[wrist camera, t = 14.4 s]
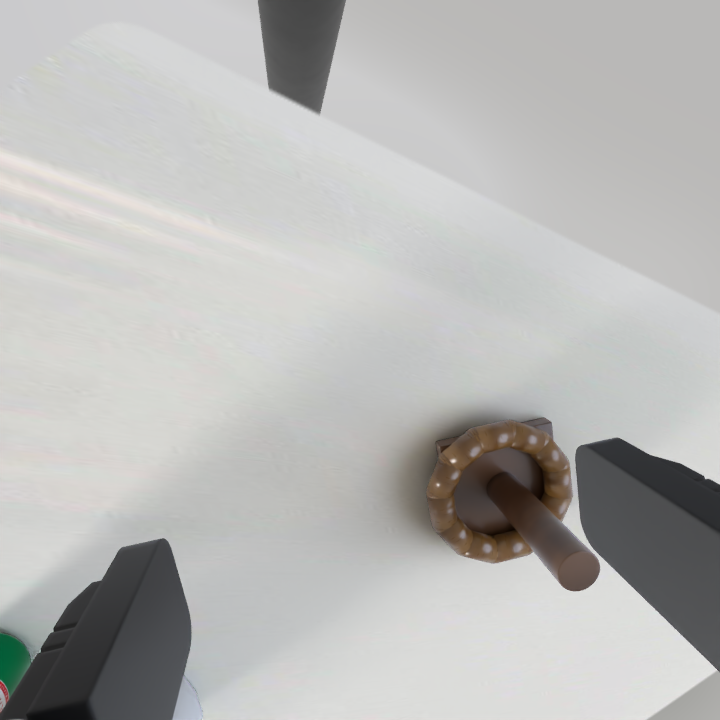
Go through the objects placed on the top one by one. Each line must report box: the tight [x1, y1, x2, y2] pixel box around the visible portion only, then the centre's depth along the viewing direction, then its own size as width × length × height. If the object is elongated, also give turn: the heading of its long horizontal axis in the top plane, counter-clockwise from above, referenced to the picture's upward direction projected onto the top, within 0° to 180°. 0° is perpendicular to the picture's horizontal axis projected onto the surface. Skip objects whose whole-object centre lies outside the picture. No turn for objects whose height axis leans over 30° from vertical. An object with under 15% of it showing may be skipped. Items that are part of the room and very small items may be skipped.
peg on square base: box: [436, 418, 600, 591], centre depth 36 cm, size 9×9×12 cm
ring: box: [426, 420, 573, 564], centre depth 39 cm, size 11×11×2 cm
